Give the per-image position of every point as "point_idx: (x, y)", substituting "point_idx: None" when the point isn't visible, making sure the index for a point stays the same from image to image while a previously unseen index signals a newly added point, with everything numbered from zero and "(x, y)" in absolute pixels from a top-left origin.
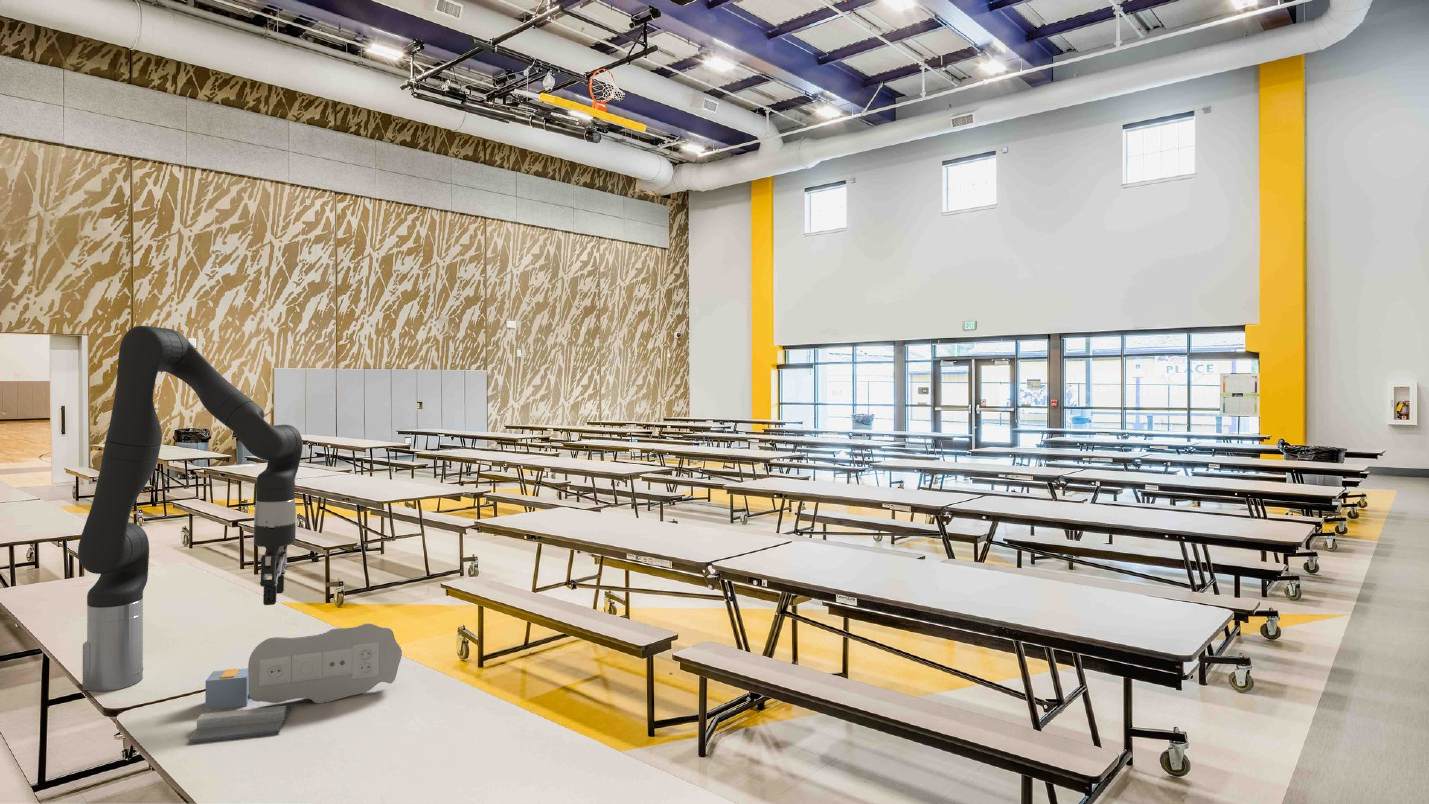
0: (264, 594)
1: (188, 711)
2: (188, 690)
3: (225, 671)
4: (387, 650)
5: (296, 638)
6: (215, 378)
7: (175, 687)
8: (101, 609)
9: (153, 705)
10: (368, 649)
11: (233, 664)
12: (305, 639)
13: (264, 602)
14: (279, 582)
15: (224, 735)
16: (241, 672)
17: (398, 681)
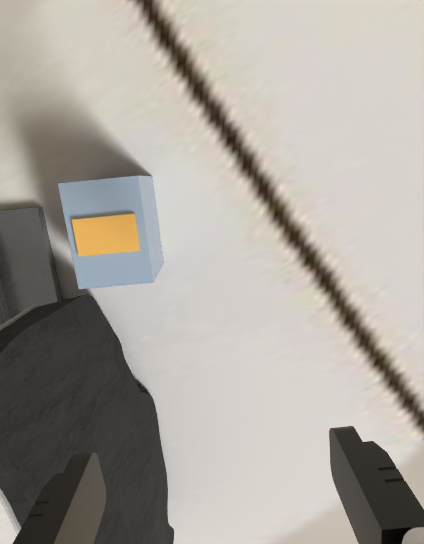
0: (47, 512)
1: (84, 143)
2: (228, 82)
3: (117, 218)
4: None
5: (2, 504)
6: None
7: (258, 33)
8: None
9: (132, 28)
10: None
11: (411, 133)
12: (17, 520)
13: (71, 466)
14: (356, 523)
15: None
16: (119, 262)
17: (202, 520)
